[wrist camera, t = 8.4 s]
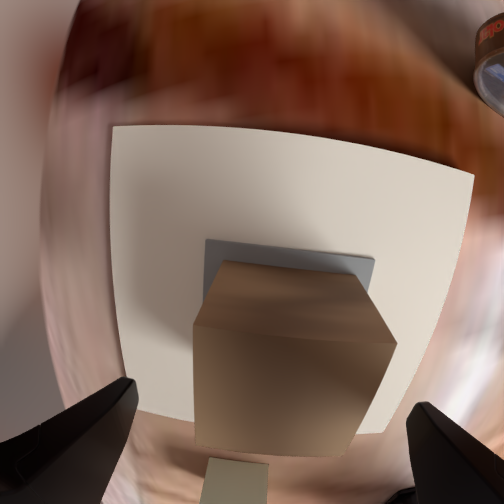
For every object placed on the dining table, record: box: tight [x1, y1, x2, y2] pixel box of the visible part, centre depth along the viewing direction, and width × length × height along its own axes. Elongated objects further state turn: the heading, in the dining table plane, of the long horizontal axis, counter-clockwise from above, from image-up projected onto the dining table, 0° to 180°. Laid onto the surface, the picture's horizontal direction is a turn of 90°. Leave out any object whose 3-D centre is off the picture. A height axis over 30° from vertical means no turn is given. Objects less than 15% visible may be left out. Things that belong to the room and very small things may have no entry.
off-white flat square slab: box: [110, 125, 474, 434], centre depth 13 cm, size 16×16×1 cm
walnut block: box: [193, 260, 398, 457], centre depth 11 cm, size 6×6×5 cm
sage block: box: [199, 457, 269, 504], centre depth 17 cm, size 4×4×4 cm
